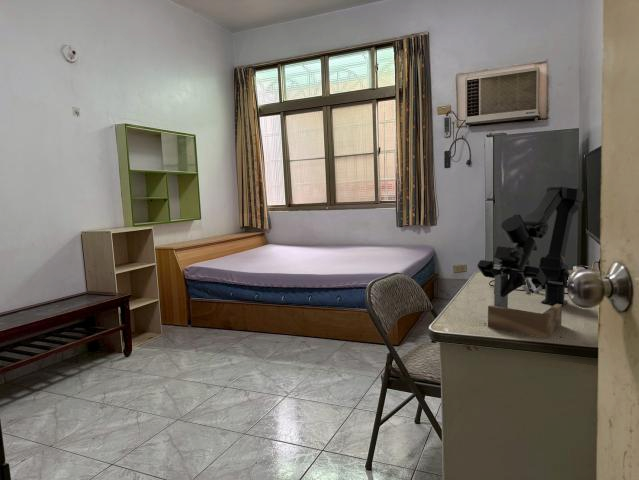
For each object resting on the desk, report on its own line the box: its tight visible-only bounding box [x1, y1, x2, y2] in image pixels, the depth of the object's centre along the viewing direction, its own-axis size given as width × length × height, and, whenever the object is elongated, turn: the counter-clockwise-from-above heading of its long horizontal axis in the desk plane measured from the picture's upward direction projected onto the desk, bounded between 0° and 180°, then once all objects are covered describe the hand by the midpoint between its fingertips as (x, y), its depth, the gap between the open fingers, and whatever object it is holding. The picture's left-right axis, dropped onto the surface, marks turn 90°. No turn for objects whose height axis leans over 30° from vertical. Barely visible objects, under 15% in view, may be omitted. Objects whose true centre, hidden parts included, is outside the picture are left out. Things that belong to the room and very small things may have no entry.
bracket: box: [493, 274, 509, 308], centre depth 123 cm, size 4×8×12 cm, turn 37°
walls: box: [487, 304, 563, 339], centre depth 123 cm, size 14×15×6 cm
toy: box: [522, 263, 543, 294], centre depth 173 cm, size 10×8×30 cm
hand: (498, 295), depth 125 cm, fingers closed
